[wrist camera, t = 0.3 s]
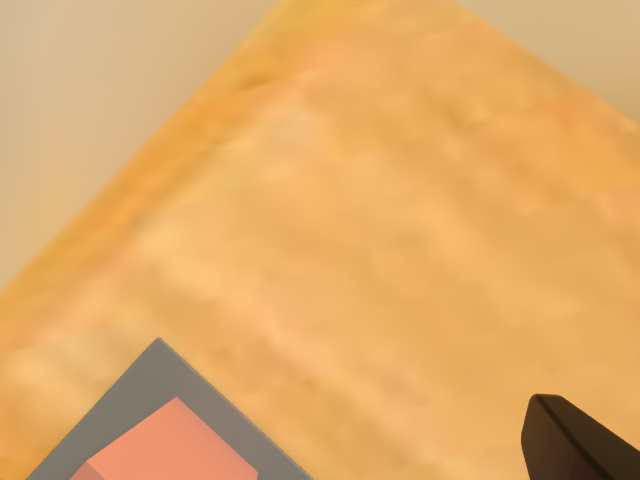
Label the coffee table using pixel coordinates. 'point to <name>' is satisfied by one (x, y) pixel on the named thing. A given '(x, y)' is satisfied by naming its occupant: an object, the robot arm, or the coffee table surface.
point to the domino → (168, 451)
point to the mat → (150, 395)
